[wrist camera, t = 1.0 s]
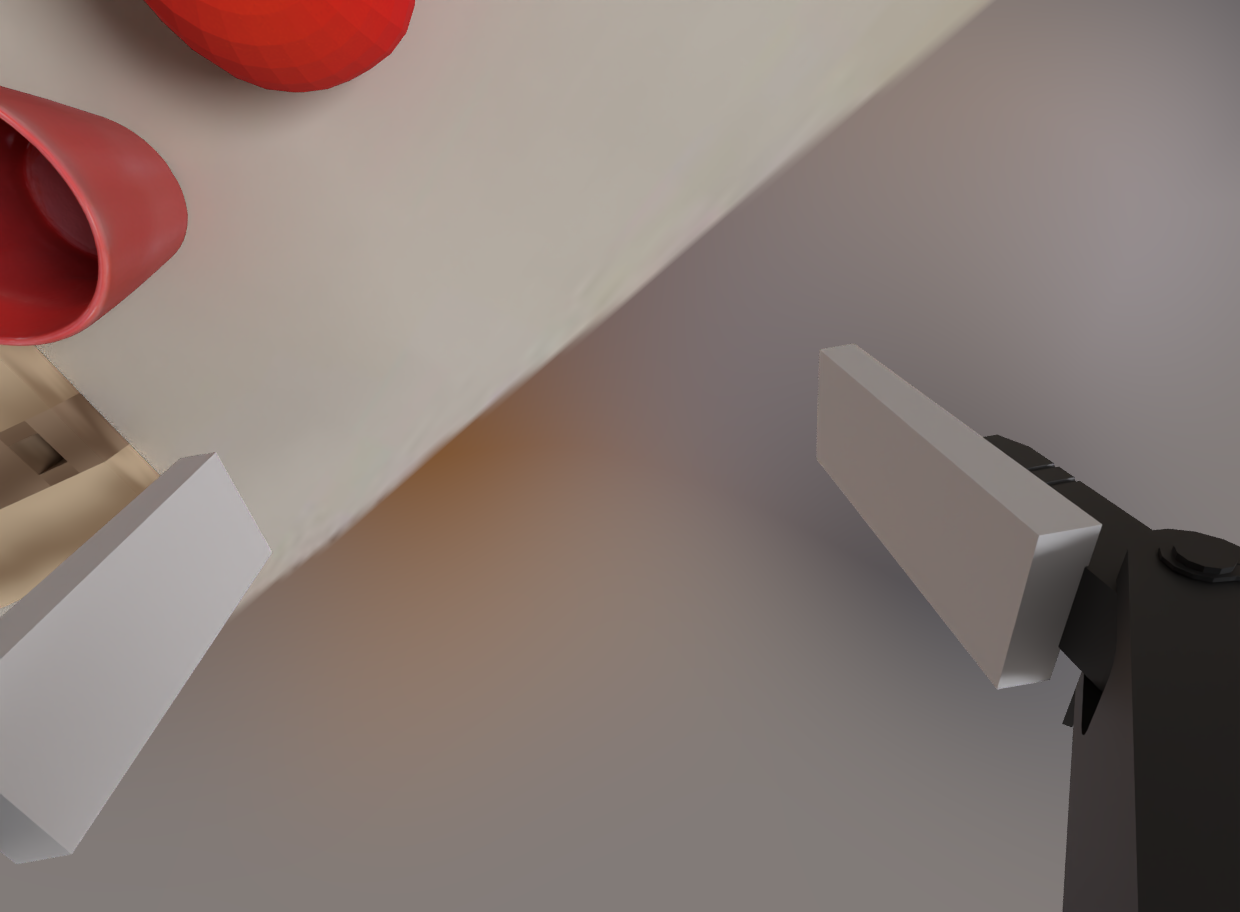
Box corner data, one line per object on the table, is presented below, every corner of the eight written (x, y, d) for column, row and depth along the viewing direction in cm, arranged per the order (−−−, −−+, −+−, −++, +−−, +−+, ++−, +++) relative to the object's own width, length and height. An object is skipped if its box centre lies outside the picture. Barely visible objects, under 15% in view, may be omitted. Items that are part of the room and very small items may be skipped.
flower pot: (136, 332, 35) (4, 394, 27) (-56, 162, 30) (-293, 172, 22) (262, 228, 33) (162, 260, 25) (78, 27, 28) (-126, -18, 20)
